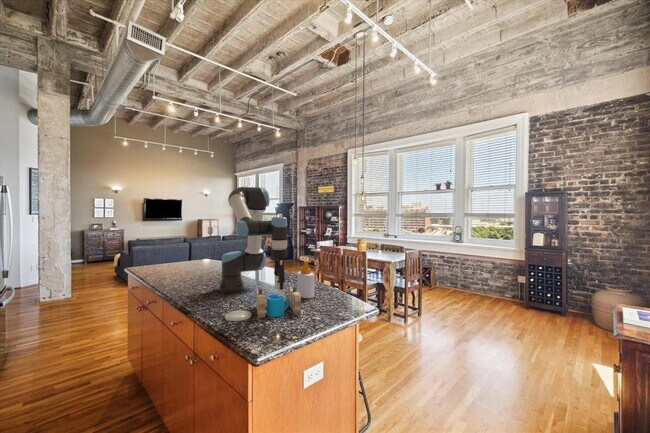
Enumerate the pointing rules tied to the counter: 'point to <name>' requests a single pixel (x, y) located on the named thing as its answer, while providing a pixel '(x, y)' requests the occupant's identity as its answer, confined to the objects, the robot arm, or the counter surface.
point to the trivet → (238, 315)
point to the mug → (276, 305)
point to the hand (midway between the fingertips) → (279, 292)
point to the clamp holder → (293, 301)
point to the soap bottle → (305, 282)
